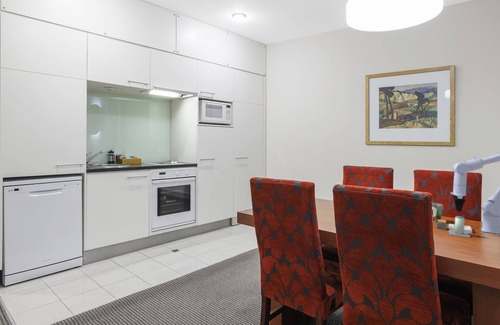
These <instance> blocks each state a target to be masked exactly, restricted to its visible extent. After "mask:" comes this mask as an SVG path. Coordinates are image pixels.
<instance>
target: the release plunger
mask: <svg viewBox="0 0 500 325" xmlns="http://www.w3.org/2000/svg"><path fill="white" fill-rule="evenodd" d="M438 223H439V224H446V223H447V220H446V219H441V220H438Z"/></svg>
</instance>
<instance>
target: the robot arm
mask: <svg viewBox="0 0 500 325" xmlns="http://www.w3.org/2000/svg"><path fill="white" fill-rule="evenodd" d="M498 162H500V153H496V154H493V155H491V156H487V157H484V158H479V157H472V158H471V159H469V160H463V161H462V162H456V163H455V164H454V165H453V167H452V171H453V172H454V174H453V175H454V176H453V186H452V187H453V188H452V189H453V190H452V191H451V192H450V194H451V195H452V199H453V201H454V207H455V210H456V212H462V211H463V207H464V204H465V203H466V201H467V199H466V198H465V196H467V179H468V176H467V174H468V173H469V172H473V171H476V170H480V169H483V167H484V166H485V165H489V164H494V163H498ZM481 209H482V211H483V212H482V227H480V230H481V232H484V233H490V234H491V233H492V234H499V235H500V186H498V188H497V189H496V191H495V192H494V194H493V195H492V196H490V197H488V199H487V200H485V201H484V202H482V203H481Z"/></svg>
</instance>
